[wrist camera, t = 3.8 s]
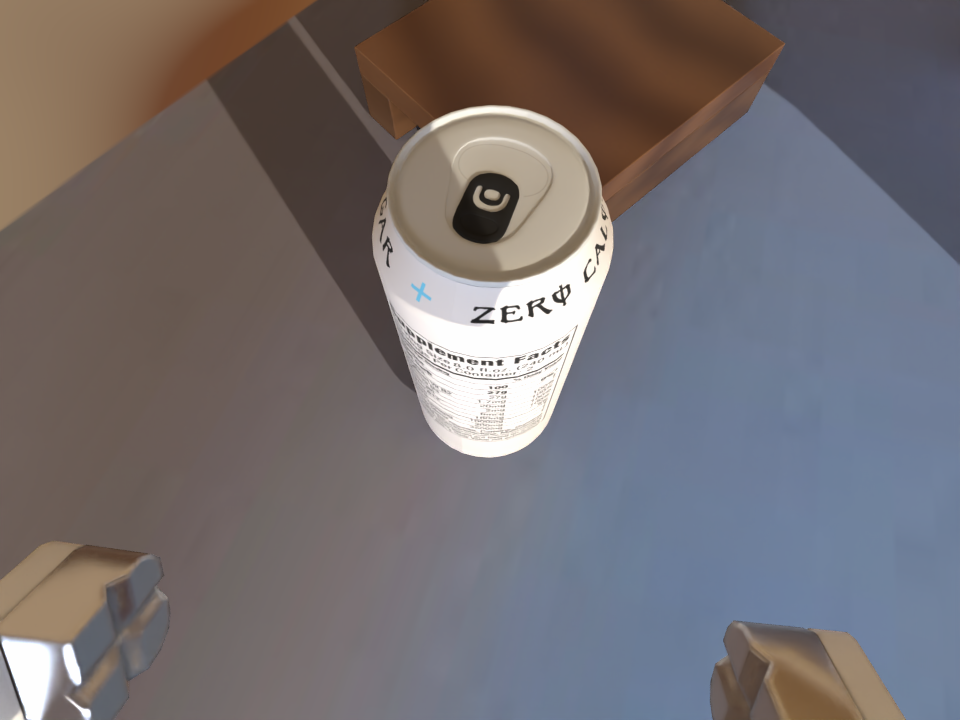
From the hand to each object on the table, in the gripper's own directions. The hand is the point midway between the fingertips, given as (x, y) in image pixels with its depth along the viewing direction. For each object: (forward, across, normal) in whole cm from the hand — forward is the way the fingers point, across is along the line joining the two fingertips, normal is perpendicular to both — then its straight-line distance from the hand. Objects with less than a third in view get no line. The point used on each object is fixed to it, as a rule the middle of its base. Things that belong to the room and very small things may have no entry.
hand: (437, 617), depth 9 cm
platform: (+30, -2, -7) cm, 31 cm away
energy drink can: (+18, 0, +6) cm, 19 cm away
